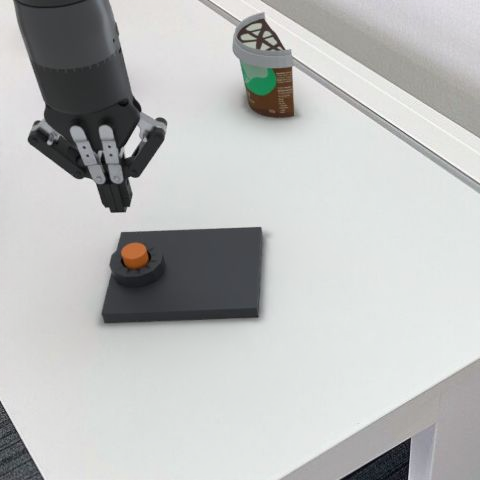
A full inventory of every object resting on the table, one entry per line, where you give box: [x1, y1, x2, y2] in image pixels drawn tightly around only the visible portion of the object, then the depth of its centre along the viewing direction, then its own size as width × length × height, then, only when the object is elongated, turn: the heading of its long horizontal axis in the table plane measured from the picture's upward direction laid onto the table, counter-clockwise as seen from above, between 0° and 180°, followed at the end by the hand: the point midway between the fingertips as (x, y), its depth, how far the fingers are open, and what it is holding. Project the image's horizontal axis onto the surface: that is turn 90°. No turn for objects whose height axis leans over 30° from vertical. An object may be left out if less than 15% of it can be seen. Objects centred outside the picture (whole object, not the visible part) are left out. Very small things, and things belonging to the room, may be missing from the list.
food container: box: [231, 11, 295, 118], centre depth 103 cm, size 12×6×10 cm, turn 22°
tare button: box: [121, 243, 149, 269], centre depth 81 cm, size 3×3×2 cm
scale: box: [100, 226, 264, 324], centre depth 83 cm, size 16×13×3 cm
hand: (120, 207), depth 77 cm, fingers closed
